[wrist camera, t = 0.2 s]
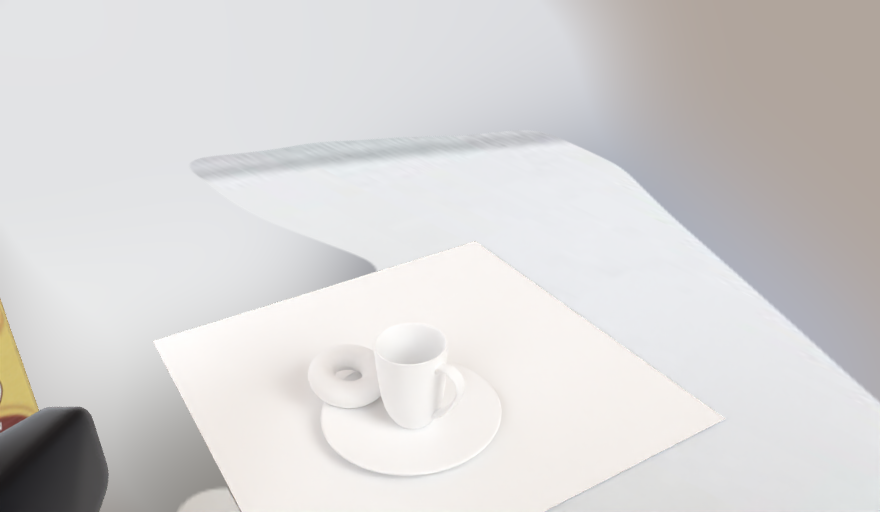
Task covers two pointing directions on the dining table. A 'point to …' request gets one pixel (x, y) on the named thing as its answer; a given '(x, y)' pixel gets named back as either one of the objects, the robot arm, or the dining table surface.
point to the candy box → (13, 380)
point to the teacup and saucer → (423, 394)
